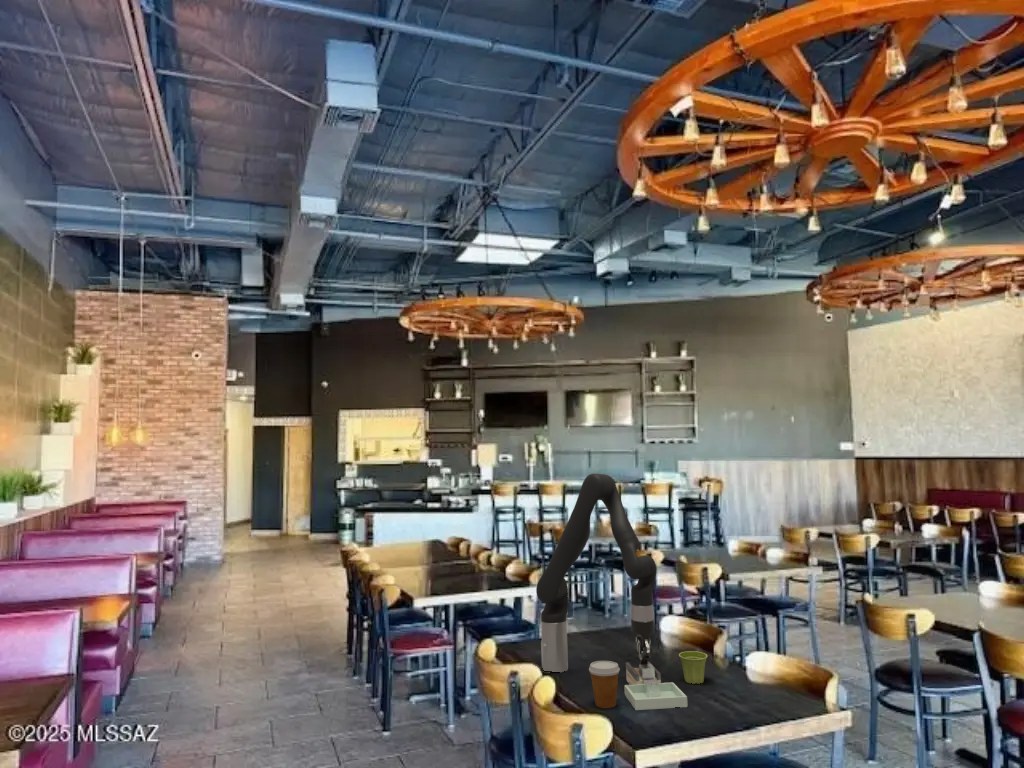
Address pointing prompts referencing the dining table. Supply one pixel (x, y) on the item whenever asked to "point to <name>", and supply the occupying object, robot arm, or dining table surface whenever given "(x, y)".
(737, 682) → the dining table surface
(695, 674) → the plant pot
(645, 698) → the tray
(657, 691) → the pale grey cube
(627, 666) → the slot board
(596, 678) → the disposable coffee cup
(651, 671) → the light grey cube
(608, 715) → the dining table surface
